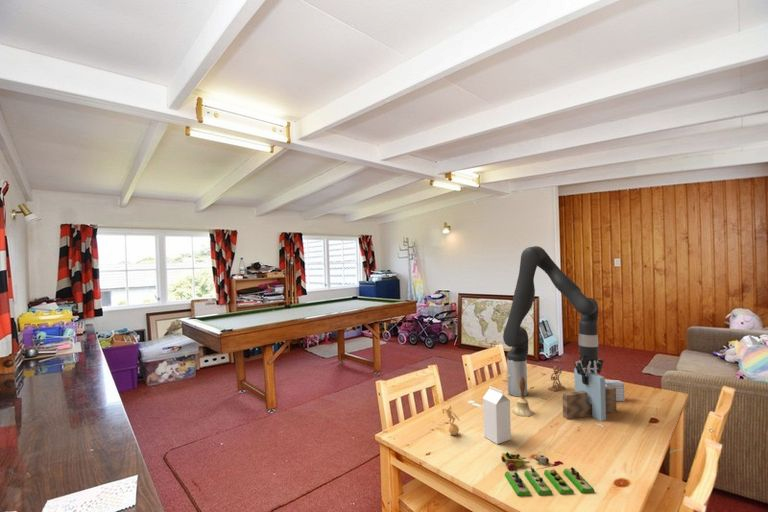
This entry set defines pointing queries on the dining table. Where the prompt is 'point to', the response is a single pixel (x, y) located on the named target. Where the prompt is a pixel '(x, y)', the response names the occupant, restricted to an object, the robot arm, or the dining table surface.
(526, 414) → the hand bell
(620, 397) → the medicine box
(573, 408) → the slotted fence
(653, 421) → the dining table surface
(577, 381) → the blue-gray tapered panel
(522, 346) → the robot arm
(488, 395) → the milk carton
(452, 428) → the figurine
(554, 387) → the tan statuette
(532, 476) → the toy garden set
